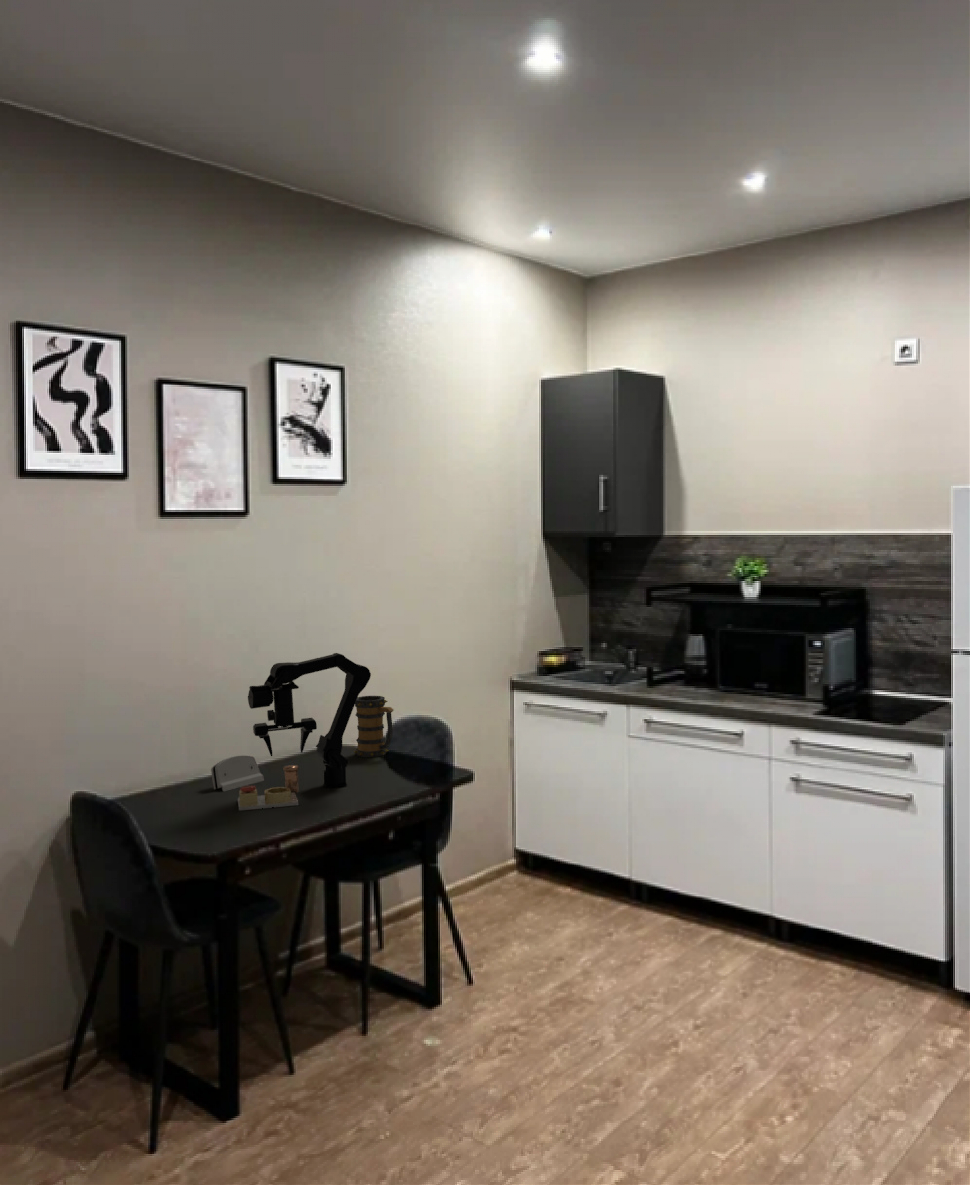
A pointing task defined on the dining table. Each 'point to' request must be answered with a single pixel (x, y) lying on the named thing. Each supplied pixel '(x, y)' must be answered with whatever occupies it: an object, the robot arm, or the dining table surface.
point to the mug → (372, 726)
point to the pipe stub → (291, 777)
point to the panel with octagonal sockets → (265, 798)
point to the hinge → (235, 773)
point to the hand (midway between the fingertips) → (286, 754)
